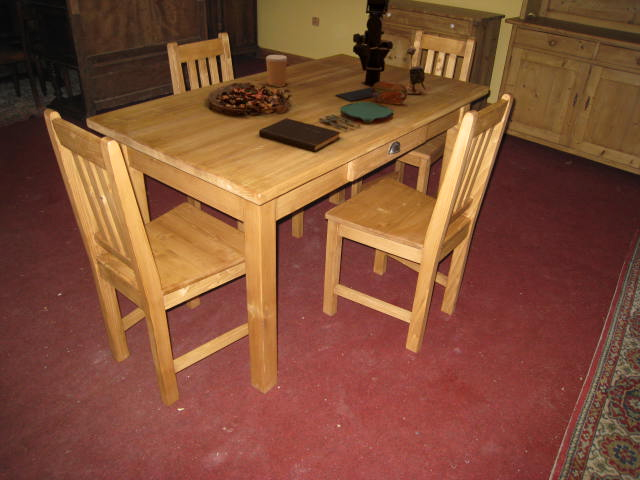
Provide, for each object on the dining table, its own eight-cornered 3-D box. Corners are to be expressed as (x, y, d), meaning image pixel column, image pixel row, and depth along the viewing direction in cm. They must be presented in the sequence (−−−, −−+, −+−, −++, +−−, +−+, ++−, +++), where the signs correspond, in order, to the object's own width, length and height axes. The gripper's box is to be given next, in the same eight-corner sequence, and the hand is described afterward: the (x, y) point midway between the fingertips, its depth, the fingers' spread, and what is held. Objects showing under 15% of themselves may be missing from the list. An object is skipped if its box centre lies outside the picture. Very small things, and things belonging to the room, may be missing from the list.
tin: (370, 100, 217) (372, 80, 212) (372, 98, 219) (374, 78, 215) (404, 106, 211) (407, 85, 207) (406, 104, 214) (409, 84, 209)
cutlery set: (402, 116, 200) (403, 111, 199) (349, 133, 182) (349, 127, 181) (364, 104, 212) (365, 98, 211) (311, 119, 194) (311, 113, 193)
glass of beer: (291, 84, 234) (291, 56, 227) (279, 88, 227) (278, 60, 221) (274, 80, 238) (274, 53, 231) (262, 84, 231) (261, 57, 225)
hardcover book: (286, 124, 188) (286, 118, 187) (340, 138, 178) (340, 132, 177) (258, 136, 177) (258, 130, 176) (314, 152, 167) (314, 145, 165)
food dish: (308, 108, 208) (309, 89, 204) (245, 128, 188) (244, 107, 183) (251, 86, 227) (251, 68, 223) (188, 102, 207) (187, 83, 202)
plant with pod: (418, 97, 223) (425, 49, 213) (396, 91, 229) (401, 44, 218) (427, 93, 229) (434, 46, 218) (405, 88, 234) (411, 42, 224)
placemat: (369, 88, 232) (369, 87, 231) (385, 94, 225) (385, 93, 225) (335, 95, 221) (335, 94, 220) (351, 101, 214) (351, 100, 214)
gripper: (374, 23, 213) (370, 61, 221) (343, 27, 201) (341, 68, 209) (395, 27, 206) (391, 67, 215) (365, 32, 195) (362, 74, 203)
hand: (371, 68), depth 211 cm, fingers open, 9 cm apart
